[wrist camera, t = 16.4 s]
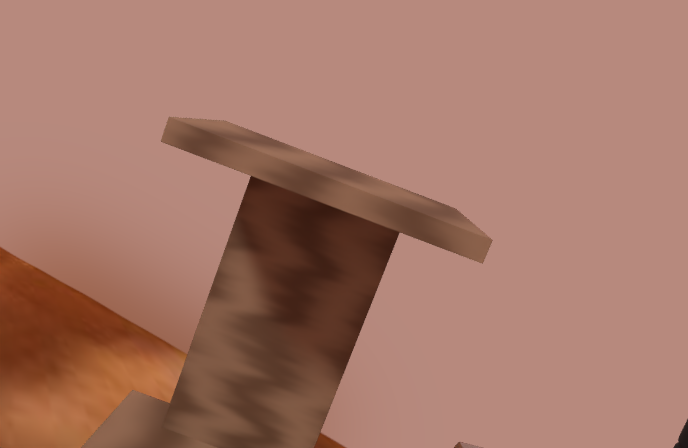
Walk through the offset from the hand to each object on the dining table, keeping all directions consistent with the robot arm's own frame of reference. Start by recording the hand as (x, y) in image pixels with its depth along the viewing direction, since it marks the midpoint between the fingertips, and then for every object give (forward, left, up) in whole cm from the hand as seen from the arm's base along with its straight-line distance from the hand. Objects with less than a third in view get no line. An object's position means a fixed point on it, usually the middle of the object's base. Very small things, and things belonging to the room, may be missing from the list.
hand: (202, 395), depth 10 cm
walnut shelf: (0, +35, -24) cm, 42 cm away
